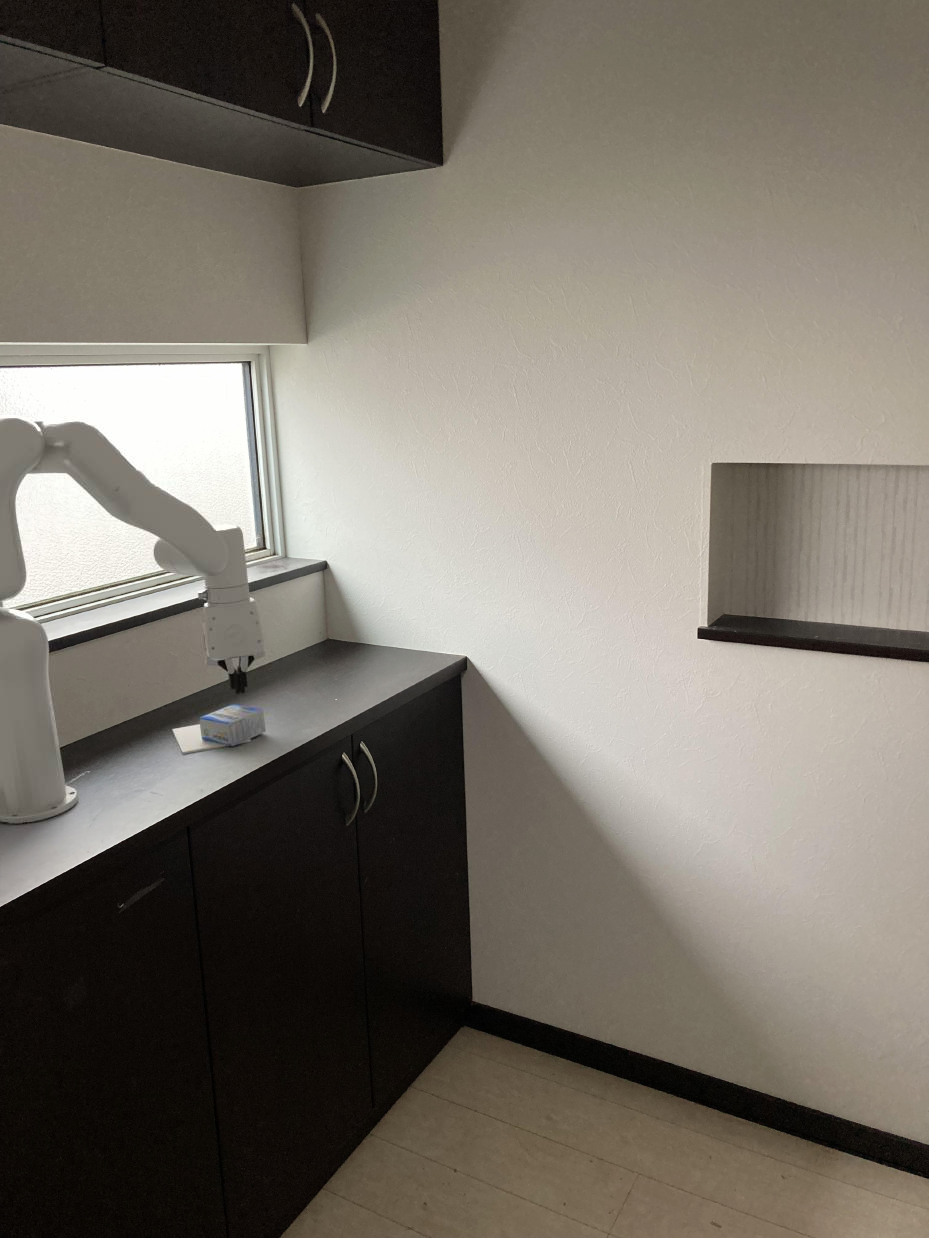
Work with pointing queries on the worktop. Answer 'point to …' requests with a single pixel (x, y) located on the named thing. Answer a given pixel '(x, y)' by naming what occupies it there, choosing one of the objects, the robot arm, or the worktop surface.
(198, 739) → the mat
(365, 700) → the worktop surface
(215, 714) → the medicine box
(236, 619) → the robot arm
